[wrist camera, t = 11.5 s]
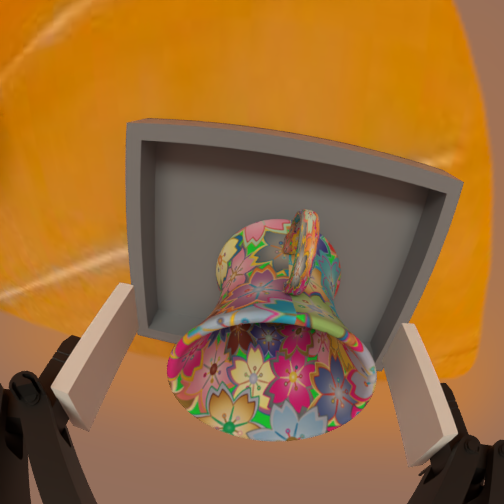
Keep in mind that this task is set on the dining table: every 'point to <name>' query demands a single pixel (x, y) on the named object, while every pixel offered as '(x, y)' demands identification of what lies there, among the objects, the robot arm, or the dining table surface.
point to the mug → (274, 340)
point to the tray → (278, 207)
